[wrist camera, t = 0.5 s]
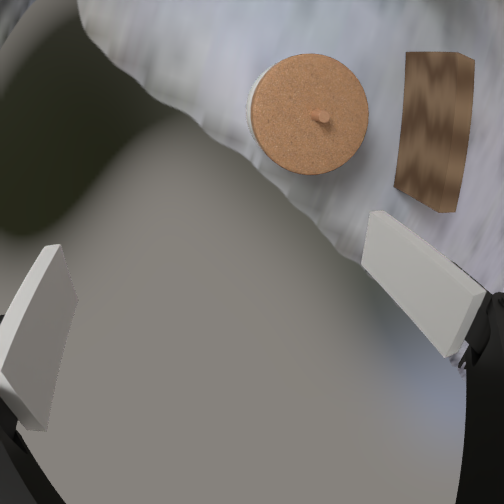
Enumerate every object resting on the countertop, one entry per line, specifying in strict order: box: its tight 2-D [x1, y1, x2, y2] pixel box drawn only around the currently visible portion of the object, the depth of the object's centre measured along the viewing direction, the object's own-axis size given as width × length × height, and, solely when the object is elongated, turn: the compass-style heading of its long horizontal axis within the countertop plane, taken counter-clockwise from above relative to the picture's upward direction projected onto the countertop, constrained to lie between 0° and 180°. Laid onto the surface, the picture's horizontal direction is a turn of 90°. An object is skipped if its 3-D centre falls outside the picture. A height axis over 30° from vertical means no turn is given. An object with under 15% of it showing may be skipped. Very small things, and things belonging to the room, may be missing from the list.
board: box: [394, 52, 475, 213], centre depth 31 cm, size 18×3×9 cm, turn 179°
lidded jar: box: [246, 54, 369, 175], centre depth 27 cm, size 11×11×9 cm
